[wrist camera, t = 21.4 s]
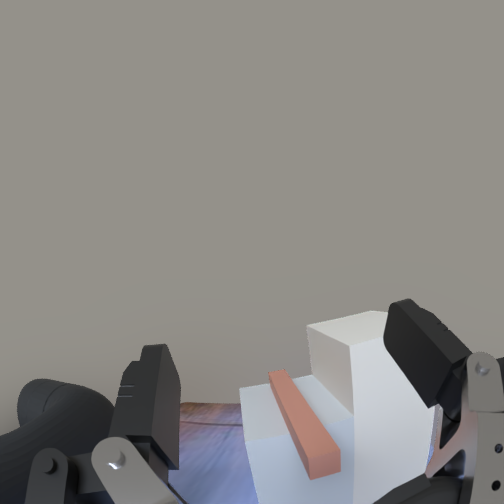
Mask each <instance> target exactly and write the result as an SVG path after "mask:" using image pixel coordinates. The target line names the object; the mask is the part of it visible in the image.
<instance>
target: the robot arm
mask: <svg viewBox="0 0 504 504" xmlns="http://www.w3.org/2000/svg"><path fill="white" fill-rule="evenodd" d="M383 342H384V346H385V348H386V350H387V351H388V353H389V354H390V355H391V357H392V358H393V359H394V361H395V362H396V364H397V365H398V366H399V368H400V369H401V371H402V372H403V373H404V375H405V376H406V378H407V379H408V380H409V382H410V383H411V385H412V386H413V388H414V389H415V390H416V392H417V393H418V395H419V396H420V398H421V399H422V401H423V402H424V403H425V405H426V406H427V408H428V409H429V408H431V407H433V406H435V405H436V404H438V403H439V404H440V406H441V408H440V410H439V413H438V423H437V431H436V439H435V445H434V451H433V455H432V458H431V460H430V462H429V464H428V466H427V468H426V470H425V473H423V474H421V475H419V476H417V477H416V478H414V479H412V480H410V481H408V482H406V483H404V484H402V485H400V486H398V487H396V488H393V489H392V490H391V491H389V492H388V493H387V494H385V495H384V496H383V497H381V498H380V499H378V500H377V501H375V502H374V503H373V504H504V357H503V358H499V359H495V358H494V357H493V356H491V355H490V354H488V353H484V352H476V353H472V352H471V351H470V350H469V349H468V348H467V347H466V346H465V345H464V344H463V343H462V342H461V341H460V340H459V339H458V338H457V337H456V336H455V335H454V334H453V333H452V332H451V331H450V330H448V328H447V327H446V326H445V325H444V324H442V323H441V321H440V320H439V319H438V318H437V317H436V316H435V315H434V314H433V313H431V312H429V311H427V310H425V309H423V308H420V307H419V306H418V305H417V304H416V303H415V302H414V301H413V300H411V299H405V300H401V301H398V302H394V303H392V304H391V305H390V307H389V311H388V316H387V320H386V325H385V330H384V334H383ZM120 385H121V387H120V388H119V392H118V397H117V400H116V404H115V407H114V406H113V405H112V403H111V402H110V401H109V400H108V399H107V398H106V397H105V396H103V395H101V394H100V393H98V392H96V391H94V390H92V389H89V388H86V387H84V386H80V385H75V384H70V383H64V382H59V381H55V380H50V379H35V380H33V381H31V382H29V383H28V384H26V385H25V386H24V387H23V389H22V391H21V392H20V395H19V398H18V404H17V412H18V420H19V424H20V427H19V428H18V429H16V430H14V431H11V432H9V433H7V434H4V435H1V436H0V504H189V503H188V502H187V501H186V500H185V499H184V498H183V497H182V496H181V495H180V494H179V493H178V491H177V490H176V489H175V488H174V487H173V486H172V485H171V484H170V483H169V481H168V470H179V421H180V396H181V386H180V380H179V375H178V372H177V370H176V367H175V365H174V362H173V360H172V357H171V354H170V352H169V349H168V347H167V345H166V344H158V345H145V346H144V347H143V349H142V353H141V357H140V361H132V362H131V363H130V364H129V366H128V367H127V368H126V370H125V371H124V372H123V376H122V380H121V384H120Z"/></svg>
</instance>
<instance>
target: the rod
mask: <svg viewBox="0 0 504 504" xmlns="http://www.w3.org/2000/svg"><path fill="white" fill-rule="evenodd" d="M268 374H269V380H270V387H271V390H272V392H273V395H274V397H275V399H276V402H277V404H278V407H279V409H280V412H281V414H282V416H283V419H284V421H285V424H286V426H287V428H288V431H289V433H290V435H291V438H292V440H293V442H294V445H295V447H296V449H297V452H298V454H299V456H300V459H301V461H302V463H303V465H304V468H305V470H306V472H307V474H308V477H309V479H310V480H313V479H317V478H321V477H324V476H328V475H331V474H335V473H338V472H341V451H340V448H339V447H338V445H337V444H336V443H335V441H334V440H333V438H332V437H331V436H330V434H329V433H328V431H327V430H326V429H325V427H324V426H323V424H322V423H321V422H320V420H319V419H318V417H317V416H316V414H315V413H314V412H313V410H312V409H311V407H310V406H309V404H308V403H307V401H306V400H305V398H304V397H303V396H302V394H301V393H300V391H299V390H298V388H297V387H296V385H295V384H294V382H293V381H292V379H291V378H290V376H289V375H288V373H287V372H286V371H285V369H284V370H278V371H274V372H268Z"/></svg>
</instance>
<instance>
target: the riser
mask: <svg viewBox="0 0 504 504" xmlns="http://www.w3.org/2000/svg"><path fill="white" fill-rule="evenodd" d="M387 316H388V312H380V311H373V310H372V311H368V312H364V313H360V314H355V315H351V316H347V317H342V318H338V319H334V320H329V321H325V322H320V323H315V324H310V325H306V327H307V335H308V343H309V351H310V359H311V368H312V375H308V376H304V377H299V378H295V379H292V381H293V382H294V384H295V385H296V387H297V388H298V390H299V391H300V393H301V394H302V396H303V397H304V398H305V400H306V401H307V403H308V404H309V406H310V407H311V409H312V410H313V412H314V413H315V414H316V416H317V417H318V419H319V420H320V422H321V423H322V424H323V426H324V427H325V429H326V430H327V431H328V433H329V434H330V436H331V437H332V438H333V440H334V441H335V443H336V444H337V445H338V447H339V448H340V451H341V472H338V473H335V474H331V475H328V476H324V477H321V478H317V479H313V480H310V479H309V477H308V474H307V472H306V470H305V468H304V465H303V463H302V461H301V459H300V456H299V454H298V452H297V449H296V447H295V445H294V442H293V440H292V438H291V435H290V433H289V431H288V428H287V426H286V424H285V421H284V419H283V416H282V414H281V412H280V409H279V407H278V404H277V402H276V399H275V397H274V395H273V392H272V390H271V387H270V383H269V384H263V385H257V386H251V387H244V388H239V389H240V399H241V409H242V419H243V429H244V438H245V444H246V449H247V454H248V458H249V463H250V467H251V472H252V476H253V480H254V485H255V489H256V493H257V497H258V501H259V504H373V503H374V502H375V501H377V500H378V499H380V498H381V497H383V496H384V495H385V494H387V493H388V492H389V491H391V490H392V489H393V488H396V487H398V486H400V485H402V484H404V483H406V482H408V481H410V480H412V479H414V478H416V477H417V476H419V475H421V474H423V473H425V469H426V465H427V459H428V454H429V448H430V442H431V435H432V427H433V418H434V408H435V406H433V407H431V408H429V409H428V408H427V406H426V405H425V403H424V402H423V401H422V399H421V398H420V396H419V395H418V393H417V392H416V390H415V389H414V388H413V386H412V385H411V383H410V382H409V380H408V379H407V378H406V376H405V375H404V373H403V372H402V371H401V369H400V368H399V366H398V365H397V364H396V362H395V361H394V359H393V358H392V357H391V355H390V354H389V353H388V351H387V350H386V348H385V346H384V342H383V334H384V330H385V325H386V320H387Z"/></svg>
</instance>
